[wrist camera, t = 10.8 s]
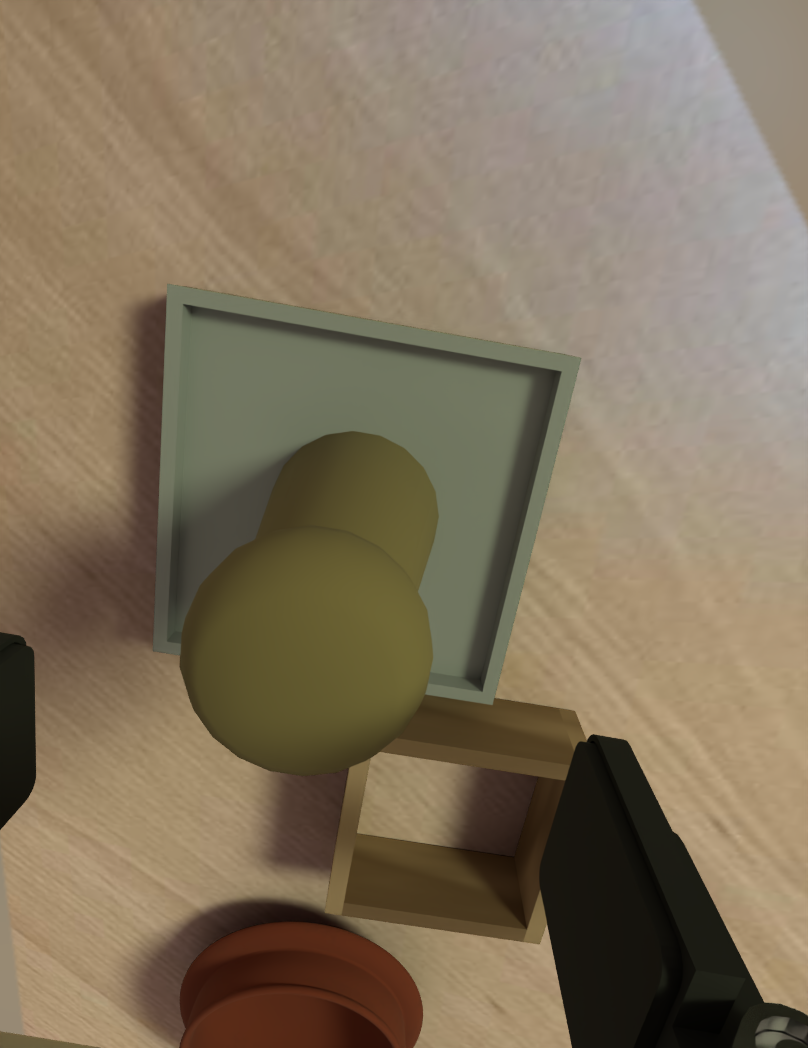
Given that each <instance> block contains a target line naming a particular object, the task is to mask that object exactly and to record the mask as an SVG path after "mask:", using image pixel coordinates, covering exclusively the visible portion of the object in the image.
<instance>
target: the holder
mask: <svg viewBox="0 0 808 1048" xmlns="http://www.w3.org/2000/svg"><path fill="white" fill-rule="evenodd" d="M580 741H583V742H587V740H586V737H585V735H584V732H583V730H582V727H581V725H580V722H579V720H578V717H577V715H576V712H575V711H572V710H565V709H559V708H553V707H546V706H540V705H534V704H528V703H521V702H515V701H509V700H502V699H496V698H494V701H493V705H489V704H482V703H476V702H470V701H464V700H457V699H451V698H445V697H438V696H432V695H426V694H425V695H424V698H423V700H422V702H421V705H420V706H419V708H418V710H417V711H416V713H415V714H414V716H413V717H412V719H411V721H410V722H409V724H408V725H407V727H406V729H405V730H404V732H403V733H402V734H401V735H400V736H398V737H397V738H396V739H395V740H393V741H392V742H391V743H390V744H388V745H387V746H386V747H385V748H383V749H382V750H381V751H380V752H384V753H391V754H397V755H404V756H410V757H417V758H423V759H430V760H436V761H442V762H449V763H455V764H462V765H468V766H475V767H481V768H487V769H494V770H500V771H507V772H513V773H520V774H526V775H532V776H538V779H537V783H536V786H535V790H534V793H533V796H532V800H531V803H530V806H529V810H528V813H527V816H526V820H525V823H524V826H523V830H522V833H521V836H520V840H519V843H518V846H517V850H516V853H515V856H514V857H508V856H501V855H494V854H488V853H481V852H474V851H468V850H461V849H454V848H448V847H441V846H435V845H428V844H421V843H415V842H408V841H401V840H395V839H388V838H381V837H375V836H368V835H362V834H357V829H358V823H359V818H360V812H361V807H362V802H363V796H364V791H365V785H366V780H367V775H368V769H369V764H370V759H368V760H367V761H365V762H362V763H360V764H357V765H354V766H352V767H349V768H348V774H347V779H346V785H345V791H344V797H343V803H342V809H341V814H340V820H339V826H338V832H337V838H336V844H335V850H334V856H333V863H332V869H331V875H330V881H329V888H328V894H327V900H326V907H325V913H329V914H336V915H342V916H349V917H356V918H363V919H370V920H377V921H384V922H390V923H397V924H404V925H411V926H418V927H425V928H431V929H438V930H445V931H452V932H459V933H466V934H473V935H479V936H486V937H493V938H500V939H507V940H514V941H520V942H527V943H534V944H540V942H541V939H542V936H543V933H544V930H545V927H546V924H547V920H546V915H545V910H544V905H543V901H542V896H541V891H540V884H539V870H540V863H541V859H542V856H543V853H544V849H545V846H546V843H547V839H548V836H549V833H550V830H551V826H552V823H553V820H554V816H555V813H556V810H557V807H558V803H559V800H560V797H561V793H562V790H563V787H564V783H565V780H566V777H567V774H568V770H569V767H570V764H571V760H572V757H573V754H574V751H575V748H576V745H577V743H578V742H580Z"/></svg>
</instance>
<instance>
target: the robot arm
mask: <svg viewBox="0 0 808 1048" xmlns="http://www.w3.org/2000/svg"><path fill="white" fill-rule="evenodd" d="M35 780H36V741H35V674H34V651H33V649H32V648H31V647H29V646H26V642H25V640H24V638H23V637H21V636H19V635H13V634H7V633H1V632H0V830H1V828H2V827H3V826H4V825H5V824H6V823H7V822H8V820H9V819H10V818H11V817H12V816H13V815H14V814H15V813H16V811H17V810H18V809H19V808H20V807H21V806H22V805H23V803H24V802H25V801H26V800H27V798H28V797H29V795H30V793H31V792H32V789H33V787H34V784H35ZM539 884H540V891H541V896H542V901H543V905H544V910H545V915H546V920H547V925H548V930H549V935H550V940H551V945H552V950H553V955H554V960H555V965H556V970H557V975H558V980H559V985H560V990H561V995H562V1000H563V1004H564V1009H565V1014H566V1019H567V1024H568V1029H569V1034H570V1039H571V1044H572V1048H808V1015H806V1014H804V1013H803V1012H801V1011H798V1010H796V1009H793V1008H790V1007H788V1006H785V1005H782V1004H776V1003H764V1001H763V999H762V997H761V995H760V993H759V991H758V989H757V987H756V985H755V983H754V981H753V979H752V977H751V975H750V973H749V971H748V970H747V968H746V966H745V964H744V962H743V960H742V958H741V956H740V954H739V952H738V950H737V948H736V946H735V944H734V942H733V940H732V938H731V936H730V934H729V932H728V930H727V928H726V926H725V924H724V922H723V920H722V918H721V916H720V914H719V912H718V910H717V908H716V906H715V904H714V902H713V900H712V898H711V896H710V894H709V892H708V890H707V888H706V886H705V885H704V883H703V881H702V879H701V877H700V875H699V873H698V871H697V869H696V867H695V865H694V863H693V861H692V859H691V857H690V855H689V853H688V851H687V849H686V847H685V845H684V843H683V842H682V840H681V839H680V837H679V836H678V835H677V834H676V833H674V832H673V831H672V829H671V827H670V825H669V823H668V821H667V819H666V817H665V815H664V813H663V811H662V809H661V807H660V805H659V803H658V801H657V799H656V797H655V795H654V793H653V791H652V789H651V787H650V785H649V783H648V781H647V779H646V777H645V775H644V773H643V771H642V769H641V767H640V765H639V763H638V761H637V759H636V757H635V755H634V753H633V751H632V749H631V746H630V745H629V743H628V742H627V741H626V740H623V739H617V738H611V737H605V736H600V735H594V734H593V735H591V736H590V737H589V738H588V740H587V742H583V741H580V742H578V743H577V745H576V748H575V751H574V754H573V757H572V760H571V764H570V767H569V770H568V774H567V777H566V780H565V783H564V787H563V790H562V793H561V797H560V800H559V803H558V807H557V810H556V813H555V816H554V820H553V823H552V826H551V830H550V833H549V836H548V839H547V843H546V846H545V849H544V853H543V856H542V859H541V863H540V870H539ZM0 1048H99V1047H93V1046H87V1045H81V1044H75V1043H69V1042H63V1041H57V1040H51V1039H45V1038H38V1037H32V1036H26V1035H20V1034H13V1033H7V1032H1V1031H0Z"/></svg>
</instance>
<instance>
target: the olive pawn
mask: <svg viewBox="0 0 808 1048" xmlns="http://www.w3.org/2000/svg"><path fill="white" fill-rule="evenodd" d="M438 519H439V513H438V506H437V499H436V491H435V489H434V487H433V485H432V483H431V481H430V479H429V477H428V475H427V473H426V471H425V469H424V467H423V466H422V465H421V464H420V463H419V462H418V461H417V460H416V459H415V458H414V457H413V456H412V455H411V454H410V453H409V452H408V451H407V450H406V449H405V448H403V447H401V446H399V445H397V444H395V443H394V442H392V441H390V440H388V439H386V438H384V437H382V436H380V435H374V434H368V433H362V432H357V431H349V432H342V433H335V434H328V435H324V436H322V437H320V438H318V439H316V440H314V441H312V442H310V443H308V444H306V445H304V446H302V447H301V448H300V449H299V450H298V451H297V452H296V453H295V454H294V455H293V456H292V457H291V458H290V459H289V460H288V462H287V463H286V464H285V465H284V466H283V468H282V470H281V472H280V474H279V476H278V479H277V481H276V483H275V485H274V487H273V490H272V492H271V495H270V498H269V501H268V504H267V507H266V510H265V512H264V515H263V518H262V521H261V524H260V527H259V530H258V533H257V535H256V538H255V540H253V541H251V542H249V543H246V544H244V545H242V546H240V547H238V548H236V549H235V550H234V551H233V552H232V553H231V554H230V555H229V556H228V557H227V558H226V559H225V560H224V561H223V562H222V563H221V564H220V565H219V566H218V567H217V568H216V569H215V570H214V571H213V572H212V573H211V574H210V575H209V576H208V577H207V578H206V579H205V580H204V581H203V582H202V584H201V585H200V586H199V588H198V591H197V593H196V595H195V597H194V600H193V602H192V604H191V606H190V608H189V611H188V613H187V615H186V617H185V621H184V625H183V629H182V634H181V652H180V669H181V673H182V676H183V679H184V683H185V686H186V689H187V692H188V696H189V699H190V702H191V704H192V707H193V709H194V711H195V713H196V714H197V715H198V717H199V718H200V720H201V721H202V723H203V724H204V725H205V727H206V728H207V730H208V731H209V732H210V734H211V735H212V737H213V738H215V739H216V740H217V741H218V742H220V743H221V744H222V745H224V746H225V747H226V748H227V749H229V750H230V751H231V752H232V753H234V754H235V755H236V756H237V757H239V758H241V759H243V760H246V761H248V762H250V763H253V764H255V765H257V766H260V767H262V768H264V769H267V770H269V771H274V772H280V773H287V774H293V775H300V776H309V775H318V774H328V773H337V772H339V771H342V770H344V769H347V768H349V767H352V766H354V765H357V764H360V763H362V762H365V761H367V760H368V759H370V758H371V757H373V756H374V755H376V754H377V753H378V752H380V751H381V750H382V749H383V748H385V747H386V746H387V745H388V744H390V743H391V742H392V741H393V740H395V739H396V738H397V737H398V736H400V735H401V734H402V733H403V732H404V730H405V729H406V727H407V725H408V724H409V722H410V721H411V719H412V717H413V716H414V714H415V713H416V711H417V710H418V708H419V706H420V705H421V702H422V700H423V698H424V695H425V693H426V690H427V685H428V681H429V676H430V671H431V666H432V662H433V647H432V638H431V631H430V625H429V618H428V611H427V608H426V606H425V605H424V603H423V601H422V599H421V597H420V595H419V593H418V590H419V587H420V584H421V581H422V578H423V574H424V571H425V568H426V565H427V562H428V559H429V555H430V552H431V549H432V546H433V543H434V539H435V534H436V529H437V524H438Z"/></svg>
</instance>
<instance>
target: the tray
mask: <svg viewBox="0 0 808 1048" xmlns="http://www.w3.org/2000/svg"><path fill="white" fill-rule="evenodd" d="M580 362H581V358H580V357H575V356H570V355H566V354H560V353H555V352H549V351H543V350H538V349H532V348H527V347H521V346H516V345H510V344H504V343H499V342H493V341H488V340H482V339H476V338H471V337H465V336H460V335H454V334H449V333H443V332H437V331H432V330H426V329H421V328H415V327H409V326H404V325H398V324H393V323H387V322H382V321H376V320H370V319H365V318H359V317H354V316H348V315H342V314H337V313H331V312H326V311H320V310H315V309H309V308H303V307H298V306H292V305H287V304H281V303H275V302H270V301H264V300H259V299H253V298H248V297H242V296H236V295H231V294H225V293H220V292H214V291H208V290H203V289H197V288H192V287H185V286H179V285H172V284H167V304H166V329H165V355H164V380H163V405H162V431H161V456H160V481H159V507H158V532H157V557H156V583H155V608H154V633H153V651H155V652H161V653H168V654H174V655H180V652H181V634H182V629H183V625H184V621H185V617H186V615H187V613H188V611H189V608H190V606H191V604H192V602H193V600H194V597H195V595H196V593H197V591H198V588H199V586H200V585H201V584H202V582H203V581H204V580H205V579H206V578H207V577H208V576H209V575H210V574H211V573H212V572H213V571H214V570H215V569H216V568H217V567H218V566H219V565H220V564H221V563H222V562H223V561H224V560H225V559H226V558H227V557H228V556H229V555H230V554H231V553H232V552H233V551H234V550H235V549H236V548H238V547H240V546H242V545H244V544H246V543H249V542H251V541H253V540H255V538H256V535H257V533H258V530H259V527H260V524H261V521H262V518H263V515H264V512H265V510H266V507H267V504H268V501H269V498H270V495H271V492H272V490H273V487H274V485H275V483H276V481H277V479H278V476H279V474H280V472H281V470H282V468H283V466H284V465H285V464H286V463H287V462H288V460H289V459H290V458H291V457H292V456H293V455H294V454H295V453H296V452H297V451H298V450H299V449H300V448H301V447H302V446H304V445H306V444H308V443H310V442H312V441H314V440H316V439H318V438H320V437H322V436H324V435H328V434H335V433H342V432H349V431H357V432H362V433H368V434H374V435H380V436H382V437H384V438H386V439H388V440H390V441H392V442H394V443H395V444H397V445H399V446H401V447H403V448H405V449H406V450H407V451H408V452H409V453H410V454H411V455H412V456H413V457H414V458H415V459H416V460H417V461H418V462H419V463H420V464H421V465H422V466H423V467H424V469H425V471H426V473H427V475H428V477H429V479H430V481H431V483H432V485H433V487H434V489H435V491H436V499H437V506H438V513H439V519H438V524H437V529H436V534H435V539H434V543H433V546H432V549H431V552H430V555H429V559H428V562H427V565H426V568H425V571H424V574H423V578H422V581H421V584H420V587H419V590H418V593H419V595H420V597H421V599H422V601H423V603H424V605H425V606H426V608H427V611H428V618H429V625H430V631H431V638H432V647H433V662H432V666H431V671H430V676H429V681H428V685H427V690H426V693H425V694H426V695H432V696H438V697H445V698H451V699H457V700H464V701H470V702H476V703H482V704H489V705H493V701H494V697H495V694H496V690H497V686H498V682H499V678H500V674H501V670H502V666H503V662H504V658H505V654H506V651H507V647H508V643H509V639H510V635H511V631H512V627H513V623H514V619H515V615H516V612H517V608H518V604H519V600H520V596H521V592H522V588H523V584H524V580H525V576H526V573H527V569H528V565H529V561H530V557H531V553H532V549H533V545H534V541H535V537H536V533H537V530H538V526H539V522H540V518H541V514H542V510H543V506H544V502H545V498H546V494H547V491H548V487H549V483H550V479H551V475H552V471H553V467H554V463H555V459H556V455H557V452H558V448H559V444H560V440H561V436H562V432H563V428H564V424H565V420H566V416H567V412H568V409H569V405H570V401H571V397H572V393H573V389H574V385H575V381H576V377H577V373H578V370H579V366H580Z"/></svg>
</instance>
